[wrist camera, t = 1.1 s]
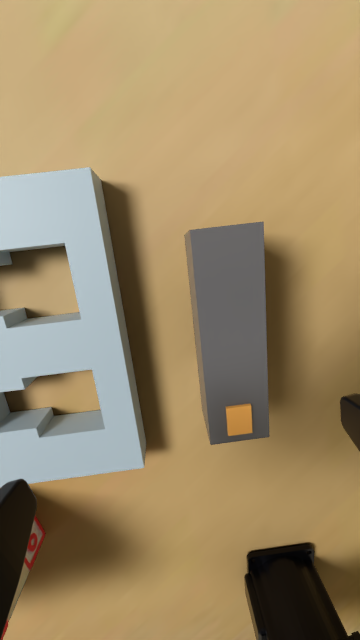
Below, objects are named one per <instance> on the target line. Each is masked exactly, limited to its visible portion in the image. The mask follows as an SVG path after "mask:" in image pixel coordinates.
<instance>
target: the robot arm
mask: <svg viewBox="0 0 360 640" xmlns="http://www.w3.org/2000/svg"><path fill="white" fill-rule="evenodd" d="M340 409H341V422H342V425H343V428H344V429H345V431H346V432H347V434H348V435H349V437H350V438H351V439H352V441H353V442H354V444H355V445H356V447H357V448H358V450H359V451H360V394H351V395H347V396H343V397H342V398H341V400H340ZM36 509H37V500H36V497H35V495H34V494H33V492H32V490H31V489H30V487H29V485H28V483H27V482H26V480H24V479H17V480H13V481H10V482H7V483H6V484H4V485H3V486H2V487H1V488H0V640H1V637H2V634H3V631H4V628H5V625H6V621H7V618H8V615H9V612H10V609H11V606H12V603H13V599H14V596H15V593H16V590H17V587H18V583H19V580H20V576H21V572H22V569H23V565H24V560H25V556H26V552H27V548H28V543H29V539H30V535H31V531H32V526H33V522H34V518H35V514H36ZM247 572H248V573H247V574H246V575H245V577H244V578H245V593H246V598H247V602H248V606H249V610H250V614H251V619H252V623H253V627H254V631H255V636H256V640H360V634H359V632H358V631H356V632H353V633H352V635H350V636H348V635H347V633H346V631H345V629H344V627H343V625H342V623H341V620H340V618H339V616H338V614H337V612H336V610H335V608H334V606H333V604H332V602H331V599H330V597H329V595H328V593H327V591H326V589H325V587H324V585H323V583H322V581H321V579H320V576H319V574H318V572H317V570H316V568H315V566H314V550H313V548H312V546H311V545H309V544H306V545H299V546H292V547H285V548H278V549H272V550H265V551H258V552H251V553H249V554H248V555H247Z"/></svg>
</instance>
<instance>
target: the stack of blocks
mask: <svg viewBox="0 0 360 640" xmlns="http://www.w3.org/2000/svg"><path fill="white" fill-rule="evenodd" d="M0 488H1V487H0ZM45 534H46V533H45V531H44V530H43V528H42V526H41V524H40V523H39V521H38V519H37V518H36V516H35V518H34V522H33V526H32V531H31V535H30V539H29V543H28V548H27V552H26V556H25V560H24V565H23V569H22V572H21V576H20V580H19V583H18V587H17V590H16V593H15V596H14V599H13V603H12V606H11V609H10V612H9V615H8V618H7V621H6V625H5V628H4V631H3V634H2V637H1V640H3V637H4V635H5V632H6V630H7V627H8V622H9V620H10V618H11V616H12V613H13V611H14V608H15V606H16V603H17V601H18V598H19V596H20V593H21V591H22V589H23V586H24V584H25V582H26V579H27V576H28V574H29V572H30V570H31V568H32V566H33V564H34V561H35V559H36V556H37V554H38V551H39V549H40V547H41V544H42V542H43V540H44V537H45Z"/></svg>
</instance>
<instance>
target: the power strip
mask: <svg viewBox="0 0 360 640" xmlns="http://www.w3.org/2000/svg"><path fill="white" fill-rule="evenodd" d="M184 236H185V246H186V256H187V266H188V275H189V285H190V295H191V305H192V314H193V324H194V334H195V344H196V354H197V363H198V373H199V383H200V393H201V402H202V411H203V415H204V419H205V423H206V428H207V432H208V436H209V440H210V444H211V445H213V444H220V443H228V442H235V441H243V440H250V439H257V438H265V437H269V407H268V370H267V333H266V296H265V259H264V222H256V223H247V224H239V225H230V226H221V227H212V228H203V229H195V230H189V231H188V232H187V233H186V234H185V235H184Z"/></svg>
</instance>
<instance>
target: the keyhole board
mask: <svg viewBox="0 0 360 640" xmlns="http://www.w3.org/2000/svg"><path fill="white" fill-rule="evenodd" d="M58 246H65V247H66V252H67V256H68V261H69V265H70V270H71V275H72V279H73V284H74V288H75V293H76V298H77V302H78V307H79V311H80V312H78V313H70V314H61V315H53V316H45V317H37V318H28V319H27V315H26V312H25V308H17V309H9V310H1V311H0V487H2V486H3V485H4V484H6V483H7V482H10V481H13V480H17V479H24V480H26V482H27V483H28V484H30V483H37V482H44V481H51V480H59V479H66V478H73V477H81V476H88V475H95V474H102V473H110V472H117V471H124V470H132V469H139V468H144V464H145V453H146V438H145V432H144V427H143V421H142V415H141V409H140V403H139V398H138V392H137V386H136V380H135V374H134V369H133V363H132V357H131V351H130V345H129V340H128V334H127V328H126V322H125V316H124V311H123V305H122V299H121V293H120V287H119V282H118V276H117V270H116V264H115V258H114V253H113V247H112V241H111V235H110V229H109V224H108V218H107V212H106V206H105V200H104V195H103V189H102V183H101V179H100V178H99V177H98V176H97V175H96V174H95V173H94V171H93V170H92V169H91V168H90V167H89V168H80V169H71V170H61V171H52V172H42V173H33V174H24V175H14V176H5V177H0V266H2V265H11V264H12V260H11V257H10V253H9V252H14V251H23V250H32V249H41V248H50V247H58ZM91 369H92V371H93V376H94V380H95V385H96V390H97V394H98V399H99V403H100V408H101V410H96V411H88V412H81V413H73V414H65V415H58V416H54V414H53V411H52V407H49V408H41V409H33V410H26V411H18V412H10V410H9V407H8V404H7V401H6V398H5V395H4V392H7V391H15V390H23V389H25V388H26V387H27V386H28V385H29V384H31V383H32V382H33V381H34V380H35V379H36V378H37V377H38V376H43V375H51V374H59V373H67V372H75V371H83V370H91Z"/></svg>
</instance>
